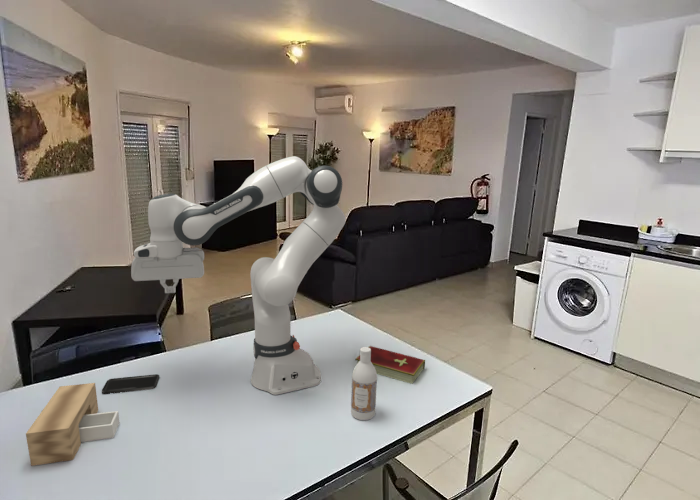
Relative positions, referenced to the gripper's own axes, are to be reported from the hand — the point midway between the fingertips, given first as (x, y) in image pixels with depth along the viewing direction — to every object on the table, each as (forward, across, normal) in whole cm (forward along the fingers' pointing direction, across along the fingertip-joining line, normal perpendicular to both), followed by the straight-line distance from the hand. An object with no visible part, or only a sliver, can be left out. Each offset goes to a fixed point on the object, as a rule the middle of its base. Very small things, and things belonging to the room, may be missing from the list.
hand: (170, 292), depth 129 cm
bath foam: (+29, -53, +32) cm, 68 cm away
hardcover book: (+30, -70, +10) cm, 76 cm away
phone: (+30, +13, +1) cm, 32 cm away
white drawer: (+29, +19, +24) cm, 42 cm away
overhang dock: (+29, +23, +23) cm, 44 cm away
